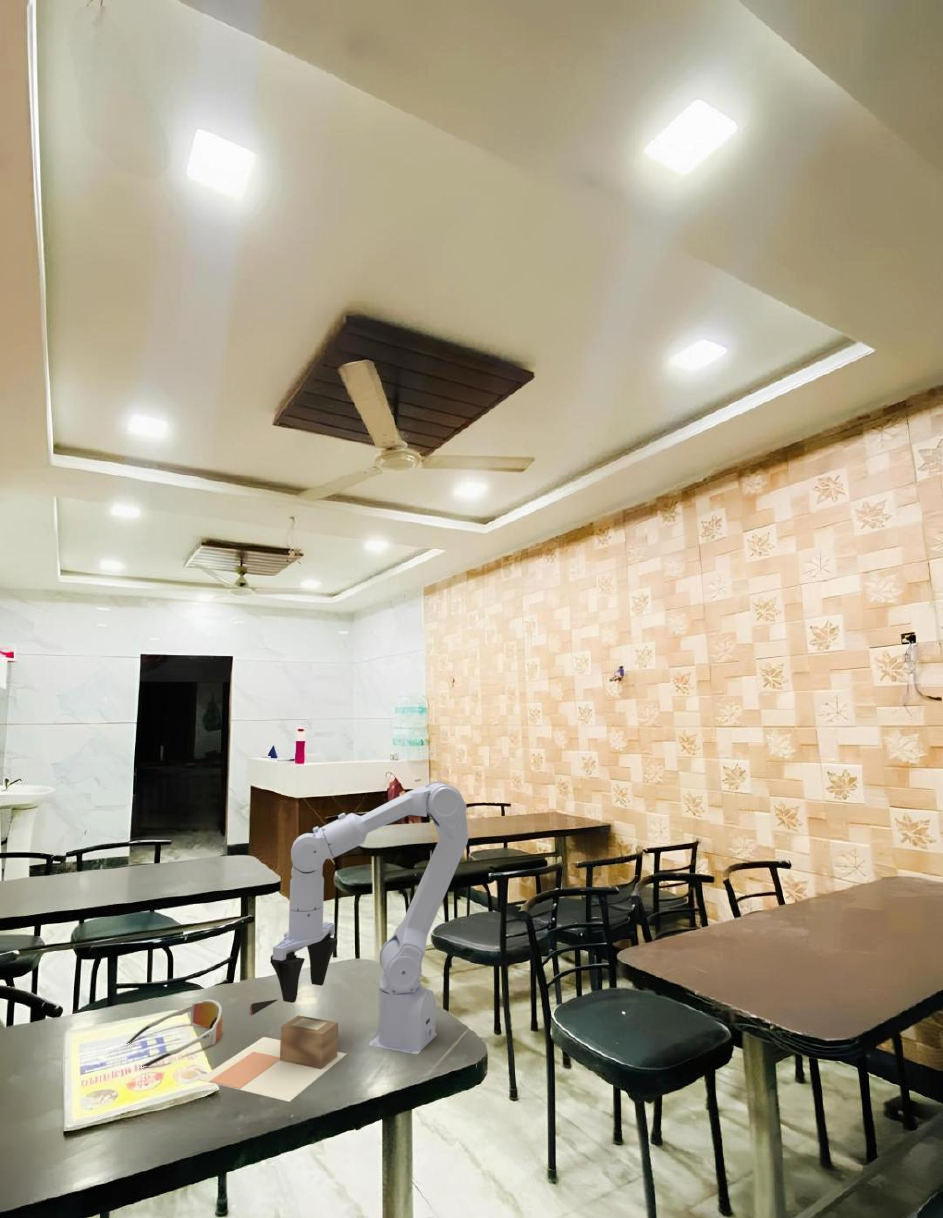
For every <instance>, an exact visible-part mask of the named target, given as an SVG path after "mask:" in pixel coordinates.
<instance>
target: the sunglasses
mask: <svg viewBox="0 0 943 1218" xmlns="http://www.w3.org/2000/svg"><path fill="white" fill-rule="evenodd" d="M222 1011H223V1008H222V1005H221V1004H220V1002H219V1001H216V1000H213V999H204V1000H200V1001H195V1002H194V1003H192V1004H191V1005H189V1006H188V1005H187V1006H186V1007H182V1008H181V1009H178V1010H176V1011H173V1012H172V1013H169V1014H167V1015H164V1016H163V1017H161V1018H158V1019H156V1020H154V1021H152V1022H150V1023H148V1024H146V1025H144V1027H142V1028H141V1029H139V1030H138V1031H137V1032H136V1033H135V1034H134V1035H133V1036H132V1037H131V1038H129V1039H128V1041H126V1043H125V1044H128V1043H130V1042H131V1043H133V1042H134V1041H135V1040H136V1039H137V1038H138V1037H140V1036H141V1035H142V1034H143V1033H144V1032H146V1031H147V1030H149V1029H151V1028H153V1027H155V1026H158V1025H159V1024H161V1023H163V1022H164V1021H166V1020H167V1019H170V1018H174V1017H176V1016H183V1015H186V1014H187V1013H189V1012H190V1025H191V1026H192V1025H193V1027H195V1026H196V1027H205V1028H208V1029H209V1030H207V1031H205V1032H204V1033H202V1034H200V1036H198V1037H197V1038H194V1039H193V1040H191V1041H189V1042H187V1043H186V1044H183V1045H182V1046H179V1047H177V1048H174V1049H172V1050H168V1051H167V1052H165V1053H162V1054H161V1055H159V1056H157V1057H154V1058H153V1059H150V1060H149V1061H147V1062H145V1063H142V1064H141V1065H139V1066H140V1067H141V1066H142V1067H143V1066H148V1067H149V1066H151V1065H154V1064H156V1063H157V1062H160V1061H161V1060H164V1059H166V1058H169V1057H171V1056H174V1055H177V1054H179V1053H181V1052H182V1051H184V1050H185V1049H187V1048H189V1047H191V1046H193V1045H196V1044H197V1043H201V1042H205V1041H206V1040H208V1038H210V1037H212V1038H211V1039H212V1040H211V1046H214V1045H215V1044H216V1043H217V1042H218V1041H219V1039H220V1038H221V1035H222V1030H223V1014H222ZM131 1043H130V1044H131Z"/></svg>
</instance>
